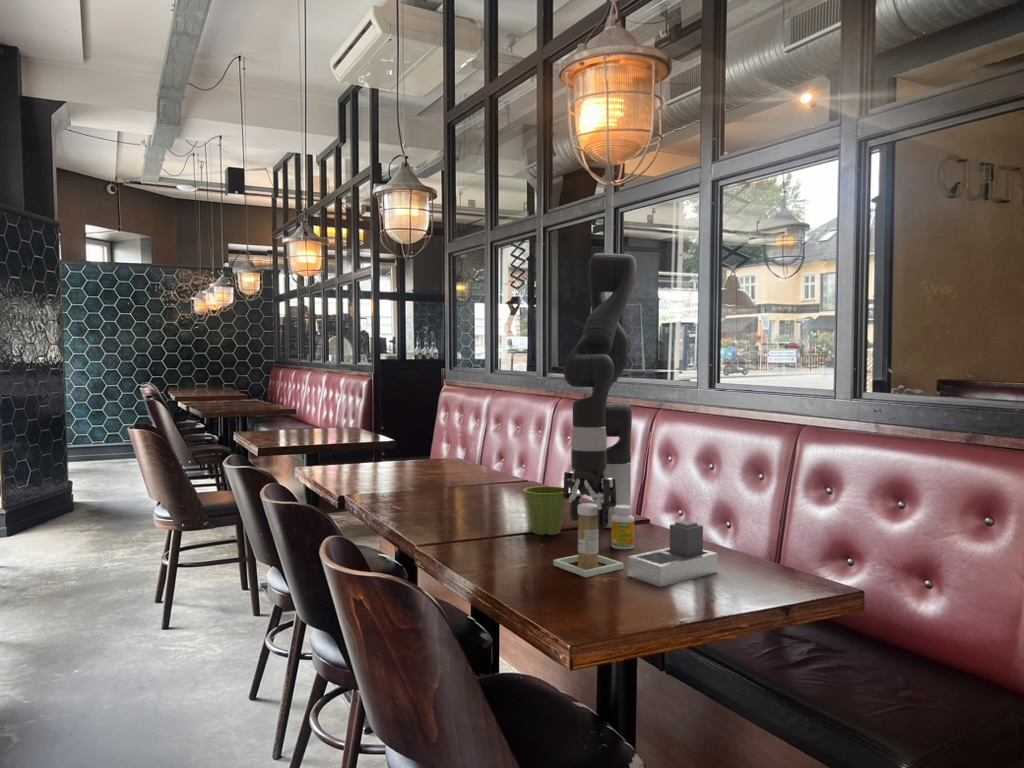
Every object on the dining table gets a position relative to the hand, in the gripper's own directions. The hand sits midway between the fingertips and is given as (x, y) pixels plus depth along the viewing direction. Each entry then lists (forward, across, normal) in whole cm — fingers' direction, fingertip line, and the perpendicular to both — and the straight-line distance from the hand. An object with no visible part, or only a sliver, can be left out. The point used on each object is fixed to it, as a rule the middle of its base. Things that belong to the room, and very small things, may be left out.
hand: (588, 523), depth 149 cm
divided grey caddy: (+10, -14, -11) cm, 20 cm away
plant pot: (+9, +30, -12) cm, 34 cm away
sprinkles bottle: (+10, 0, 0) cm, 10 cm away
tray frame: (+10, 0, 0) cm, 10 cm away
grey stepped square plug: (+10, -14, -15) cm, 22 cm away
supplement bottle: (+10, +8, -18) cm, 22 cm away
